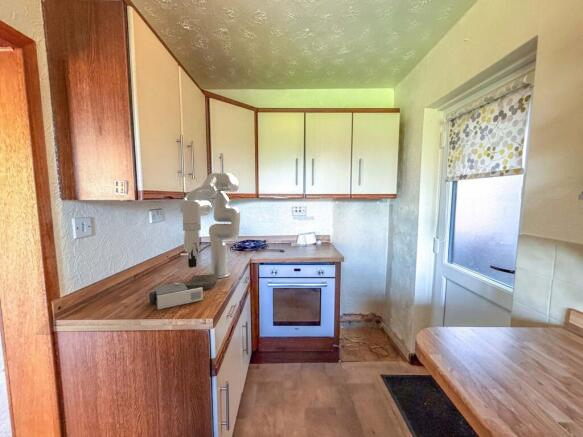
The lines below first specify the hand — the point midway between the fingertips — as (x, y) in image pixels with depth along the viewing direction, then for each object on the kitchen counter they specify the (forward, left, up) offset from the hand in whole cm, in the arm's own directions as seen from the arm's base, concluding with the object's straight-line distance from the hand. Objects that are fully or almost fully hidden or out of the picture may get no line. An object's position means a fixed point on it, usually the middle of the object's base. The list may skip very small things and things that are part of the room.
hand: (192, 266), depth 110 cm
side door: (+4, -6, -15) cm, 16 cm away
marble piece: (-16, +7, -16) cm, 24 cm away
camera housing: (-3, -10, -15) cm, 18 cm away
